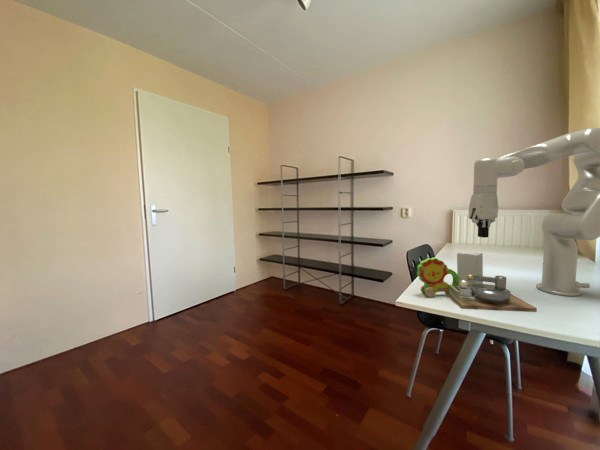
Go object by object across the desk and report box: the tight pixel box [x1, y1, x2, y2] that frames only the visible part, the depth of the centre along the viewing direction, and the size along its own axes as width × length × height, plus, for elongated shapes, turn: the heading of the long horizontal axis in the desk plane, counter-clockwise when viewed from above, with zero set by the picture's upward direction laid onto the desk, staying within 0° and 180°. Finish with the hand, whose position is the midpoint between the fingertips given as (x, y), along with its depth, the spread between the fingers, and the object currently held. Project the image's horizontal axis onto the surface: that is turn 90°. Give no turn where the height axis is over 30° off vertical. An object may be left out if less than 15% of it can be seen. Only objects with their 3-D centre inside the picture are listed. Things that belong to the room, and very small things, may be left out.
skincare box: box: [456, 250, 484, 288], centre depth 111 cm, size 8×6×15 cm
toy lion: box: [416, 256, 459, 298], centre depth 101 cm, size 16×5×15 cm, turn 87°
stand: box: [444, 286, 537, 312], centre depth 94 cm, size 23×15×5 cm, turn 80°
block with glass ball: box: [455, 280, 472, 297], centre depth 95 cm, size 4×4×6 cm
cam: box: [467, 274, 512, 302], centre depth 93 cm, size 12×13×8 cm
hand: (482, 236), depth 100 cm, fingers closed
